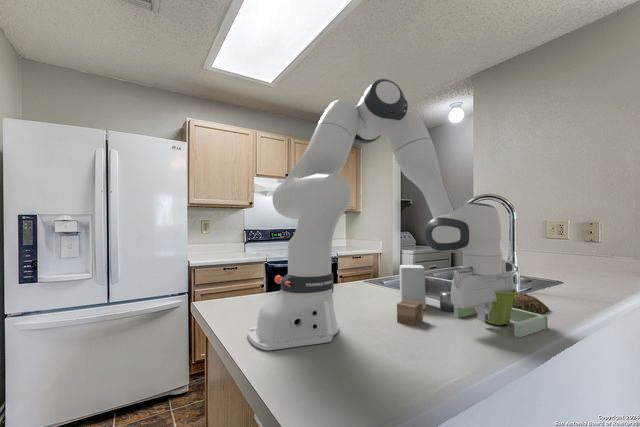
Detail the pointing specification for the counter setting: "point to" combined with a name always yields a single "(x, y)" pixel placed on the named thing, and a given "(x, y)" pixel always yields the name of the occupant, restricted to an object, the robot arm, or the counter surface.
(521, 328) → the corral
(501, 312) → the plant pot
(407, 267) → the supplement box
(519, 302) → the bread roll
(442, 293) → the metal tin
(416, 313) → the walnut block
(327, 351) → the counter surface
